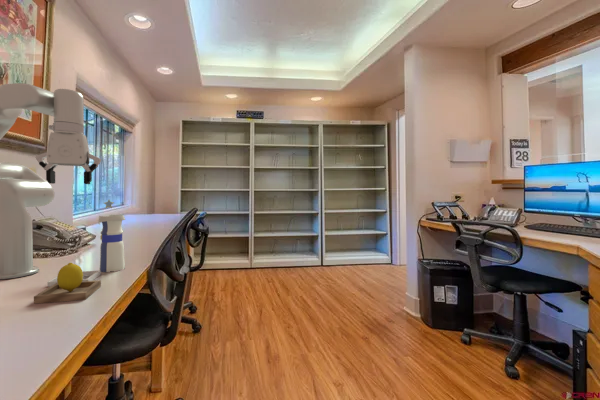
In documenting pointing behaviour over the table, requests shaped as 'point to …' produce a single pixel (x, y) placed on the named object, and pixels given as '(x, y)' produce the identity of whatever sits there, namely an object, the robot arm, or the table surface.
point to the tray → (67, 292)
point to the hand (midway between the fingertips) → (69, 183)
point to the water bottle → (111, 242)
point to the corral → (85, 273)
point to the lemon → (70, 277)
